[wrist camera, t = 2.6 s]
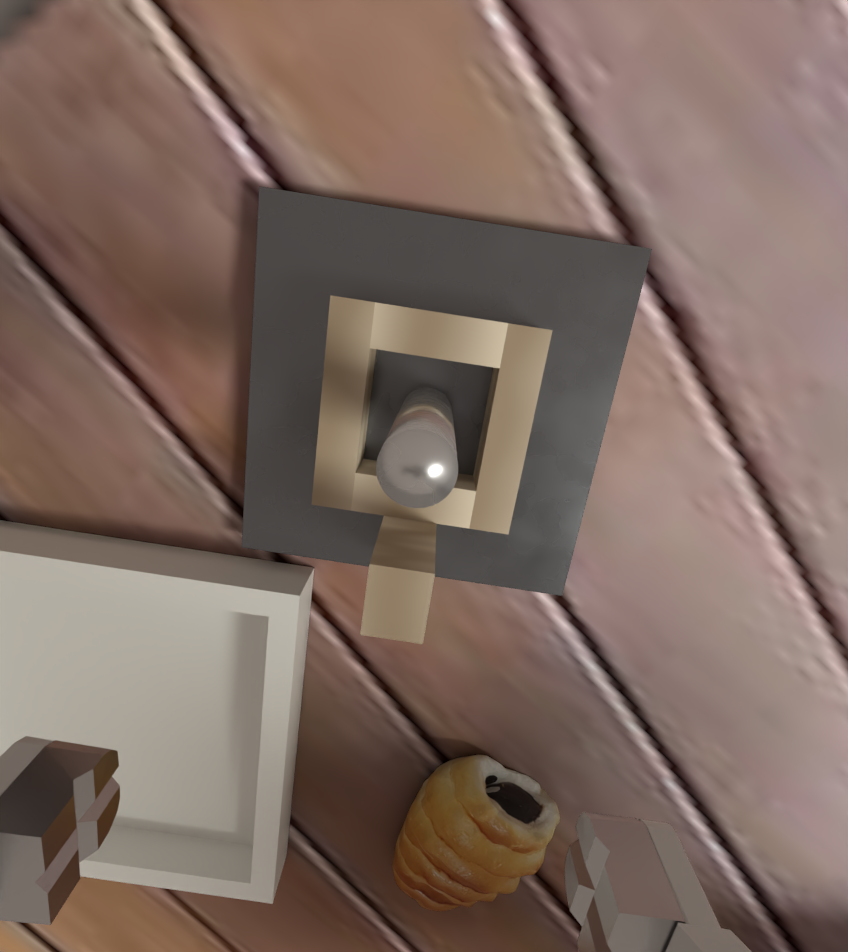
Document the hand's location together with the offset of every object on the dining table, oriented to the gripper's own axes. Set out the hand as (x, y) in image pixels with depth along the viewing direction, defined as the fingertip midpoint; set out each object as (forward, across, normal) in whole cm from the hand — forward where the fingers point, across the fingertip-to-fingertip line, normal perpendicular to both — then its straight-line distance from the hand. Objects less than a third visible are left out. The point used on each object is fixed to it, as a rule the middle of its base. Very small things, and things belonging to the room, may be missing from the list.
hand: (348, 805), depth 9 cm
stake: (+14, 0, +5) cm, 15 cm away
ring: (+13, 0, +3) cm, 14 cm away
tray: (+14, -12, -12) cm, 23 cm away
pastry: (+14, +6, -16) cm, 23 cm away
